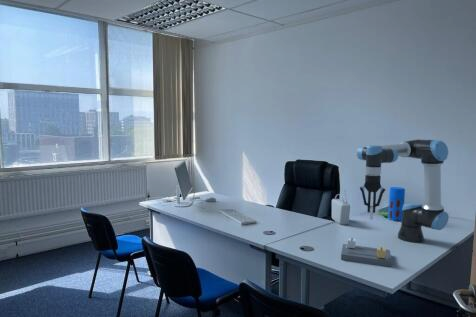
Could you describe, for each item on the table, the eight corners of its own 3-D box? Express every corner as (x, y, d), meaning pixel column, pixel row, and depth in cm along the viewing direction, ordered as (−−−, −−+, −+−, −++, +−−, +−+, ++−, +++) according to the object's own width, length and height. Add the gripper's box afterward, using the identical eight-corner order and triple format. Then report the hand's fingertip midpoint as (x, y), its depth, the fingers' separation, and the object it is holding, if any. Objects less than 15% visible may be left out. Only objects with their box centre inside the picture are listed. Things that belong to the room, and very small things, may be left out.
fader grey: (355, 245, 200) (355, 238, 200) (355, 248, 195) (355, 241, 195) (348, 244, 201) (348, 237, 201) (347, 247, 197) (348, 240, 196)
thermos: (404, 221, 269) (406, 189, 266) (389, 220, 271) (391, 188, 268) (401, 218, 279) (402, 187, 277) (386, 217, 281) (388, 186, 279)
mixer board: (389, 255, 196) (389, 249, 195) (391, 266, 179) (392, 261, 179) (342, 249, 204) (343, 243, 204) (340, 259, 187) (341, 254, 187)
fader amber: (384, 255, 186) (385, 247, 185) (385, 258, 181) (385, 250, 181) (376, 254, 187) (377, 246, 187) (377, 257, 182) (377, 249, 182)
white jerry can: (351, 225, 254) (353, 191, 252) (340, 225, 254) (342, 191, 251) (340, 218, 276) (342, 186, 274) (330, 218, 275) (331, 186, 273)
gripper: (385, 174, 186) (383, 218, 188) (359, 173, 190) (358, 215, 192) (386, 176, 179) (384, 221, 181) (359, 174, 183) (357, 219, 185)
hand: (370, 218), depth 187 cm, fingers closed
